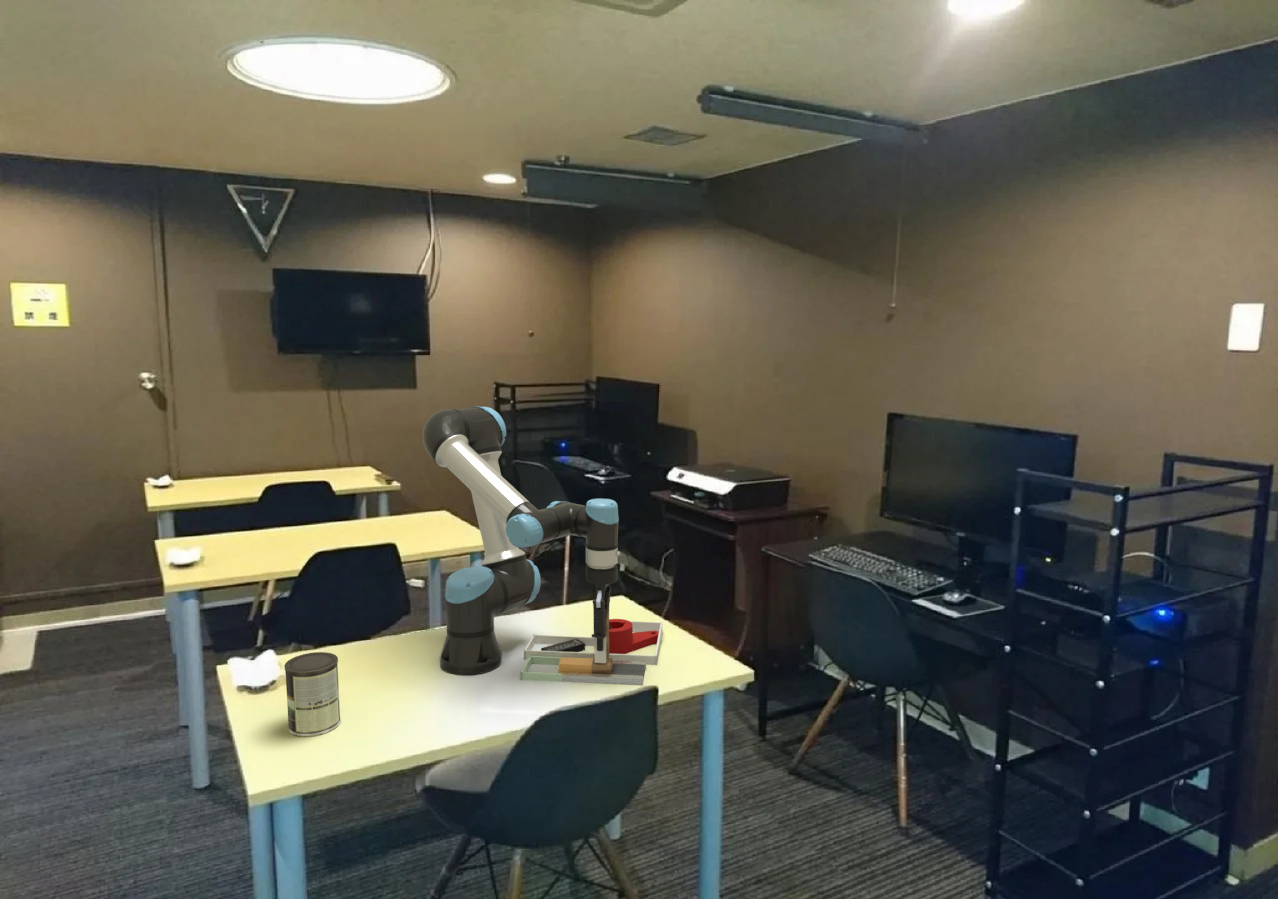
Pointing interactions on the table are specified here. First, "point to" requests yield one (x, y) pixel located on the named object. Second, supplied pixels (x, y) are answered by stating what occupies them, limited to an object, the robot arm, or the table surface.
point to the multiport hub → (566, 646)
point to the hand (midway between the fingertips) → (601, 659)
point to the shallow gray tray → (612, 674)
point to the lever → (628, 637)
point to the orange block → (583, 665)
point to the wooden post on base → (606, 667)
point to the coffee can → (312, 693)
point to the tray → (541, 676)
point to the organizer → (590, 641)
